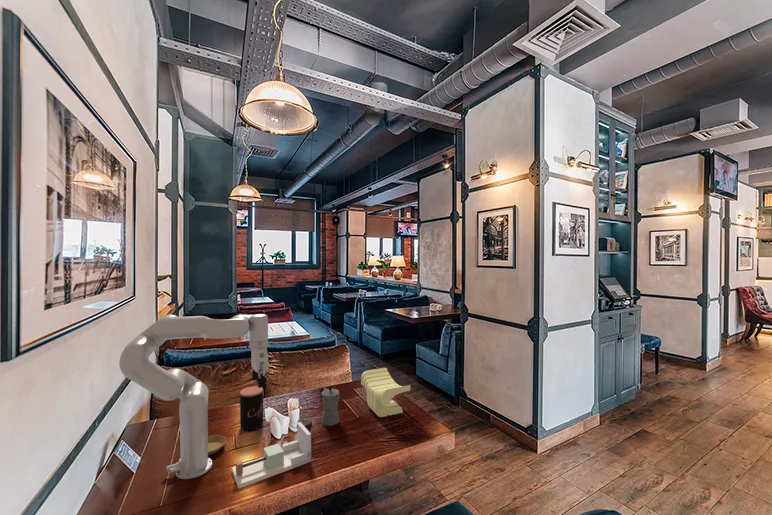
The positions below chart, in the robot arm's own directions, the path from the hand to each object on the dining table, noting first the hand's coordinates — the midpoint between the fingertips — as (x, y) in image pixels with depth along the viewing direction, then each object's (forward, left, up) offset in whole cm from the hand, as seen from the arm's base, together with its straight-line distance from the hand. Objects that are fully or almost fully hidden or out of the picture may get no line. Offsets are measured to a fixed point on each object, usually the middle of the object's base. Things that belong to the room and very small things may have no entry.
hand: (259, 383), depth 144 cm
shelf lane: (+2, -12, -30) cm, 33 cm away
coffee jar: (+3, +26, -31) cm, 40 cm away
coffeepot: (+37, +9, -31) cm, 49 cm away
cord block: (-3, -12, -29) cm, 31 cm away
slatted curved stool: (+67, +2, -31) cm, 74 cm away
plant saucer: (-18, +16, -30) cm, 39 cm away
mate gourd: (+21, +2, -31) cm, 37 cm away
